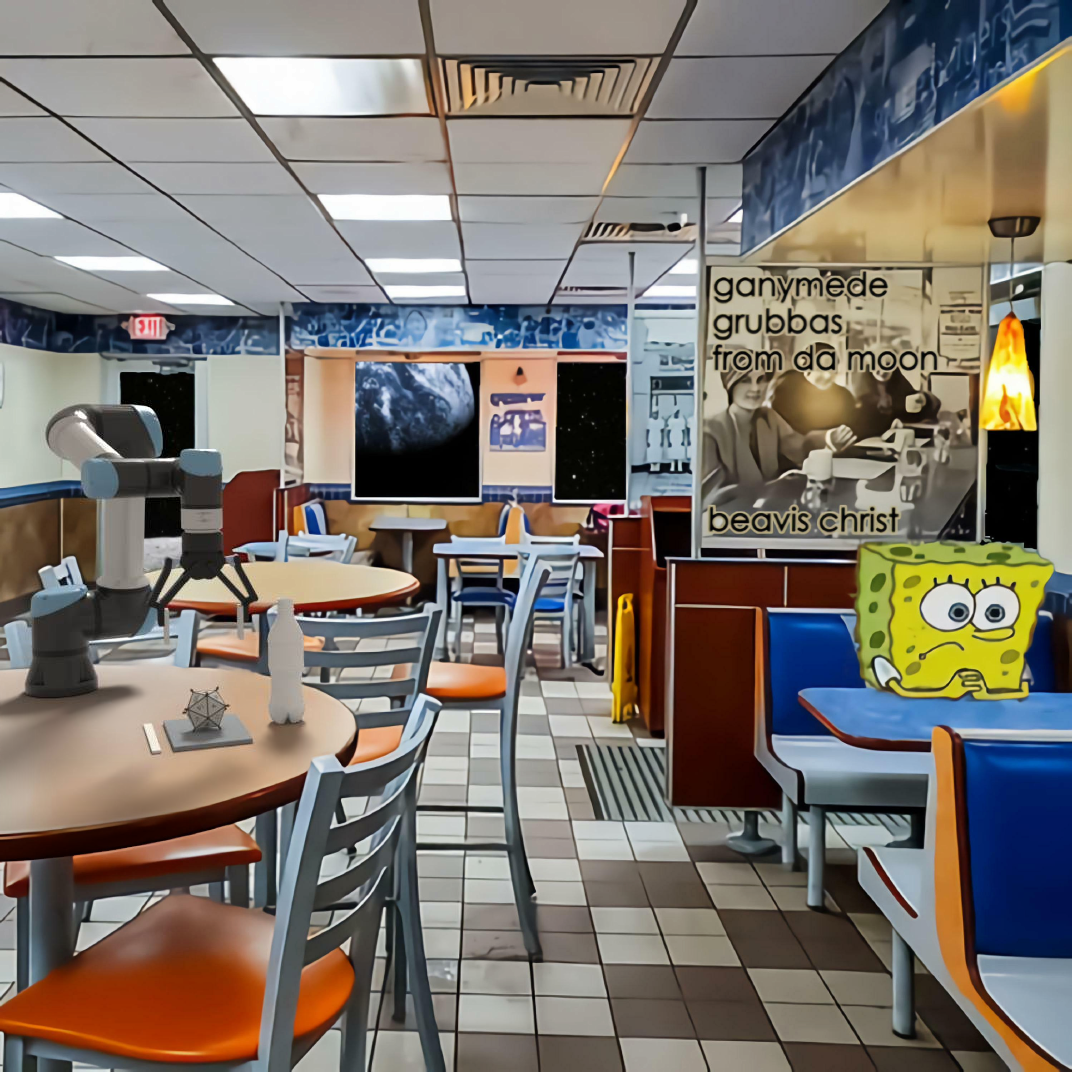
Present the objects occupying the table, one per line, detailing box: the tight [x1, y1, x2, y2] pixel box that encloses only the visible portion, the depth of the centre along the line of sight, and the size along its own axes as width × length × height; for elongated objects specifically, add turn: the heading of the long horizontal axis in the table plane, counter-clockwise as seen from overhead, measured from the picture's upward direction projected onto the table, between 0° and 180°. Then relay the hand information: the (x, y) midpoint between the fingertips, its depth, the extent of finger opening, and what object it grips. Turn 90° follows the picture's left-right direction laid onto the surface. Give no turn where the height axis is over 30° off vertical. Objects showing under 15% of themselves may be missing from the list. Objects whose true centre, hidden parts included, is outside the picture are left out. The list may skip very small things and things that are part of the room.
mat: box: [163, 713, 254, 752], centre depth 203 cm, size 20×14×1 cm
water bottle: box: [267, 596, 306, 725], centre depth 212 cm, size 7×7×25 cm
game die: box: [181, 685, 231, 732], centre depth 203 cm, size 9×8×10 cm
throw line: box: [143, 722, 162, 755], centre depth 199 cm, size 20×2×1 cm, turn 25°
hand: (204, 641), depth 202 cm, fingers open, 13 cm apart
